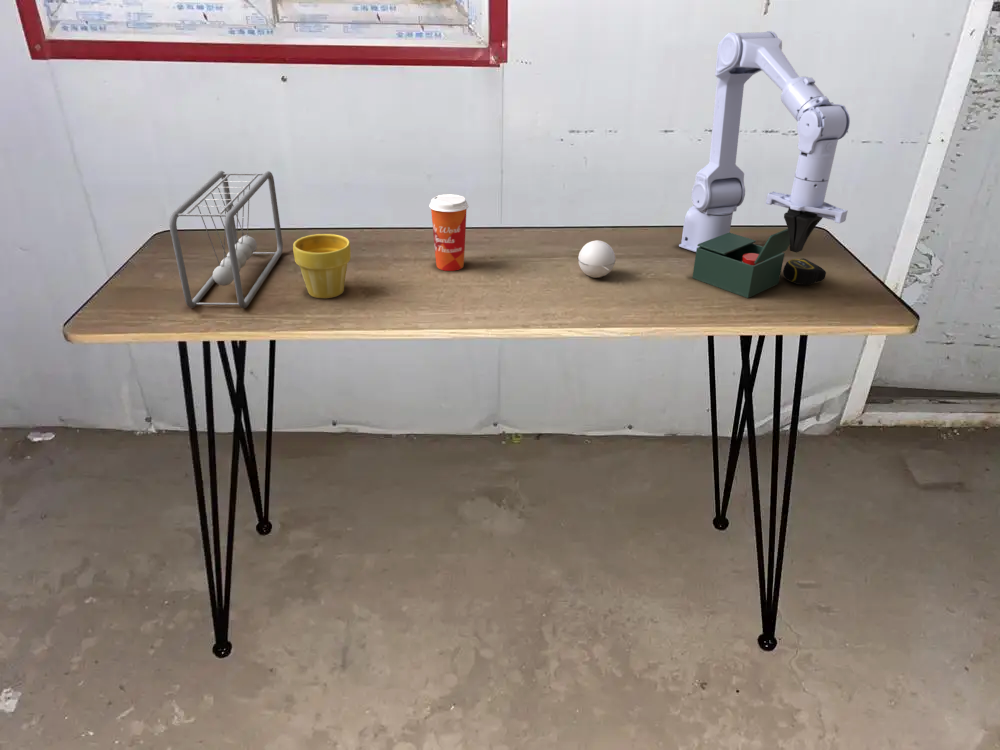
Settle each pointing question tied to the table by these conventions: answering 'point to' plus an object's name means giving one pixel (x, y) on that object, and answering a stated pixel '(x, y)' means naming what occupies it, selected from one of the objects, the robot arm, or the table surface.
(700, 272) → the carton
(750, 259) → the shaker
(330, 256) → the flower pot
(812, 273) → the tape measure
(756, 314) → the table surface
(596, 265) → the seamed sphere
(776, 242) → the flap
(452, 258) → the paper cup
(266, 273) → the newton's cradle
